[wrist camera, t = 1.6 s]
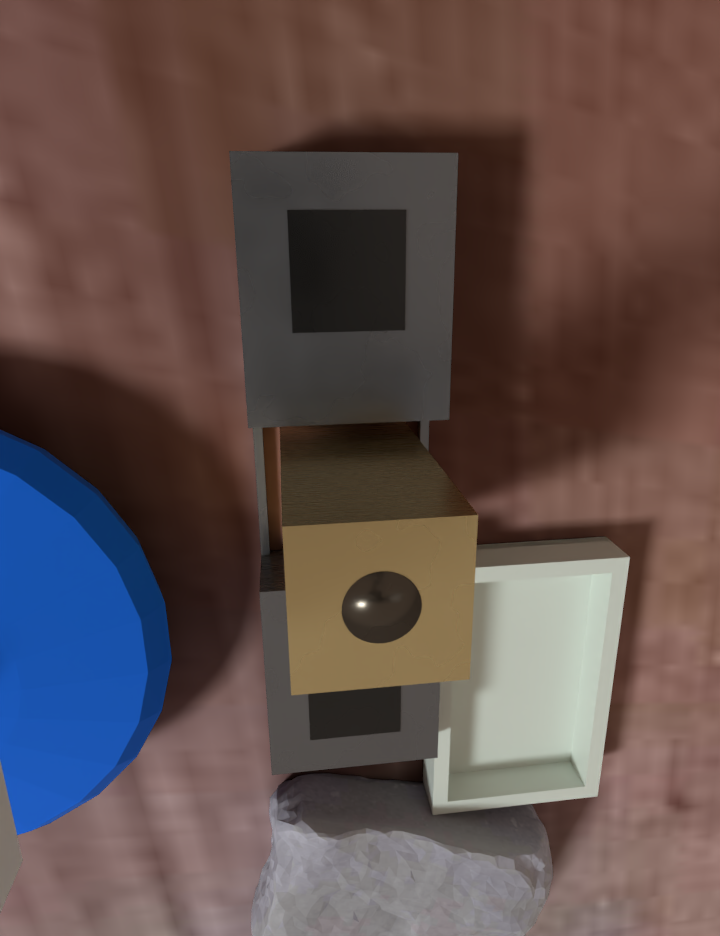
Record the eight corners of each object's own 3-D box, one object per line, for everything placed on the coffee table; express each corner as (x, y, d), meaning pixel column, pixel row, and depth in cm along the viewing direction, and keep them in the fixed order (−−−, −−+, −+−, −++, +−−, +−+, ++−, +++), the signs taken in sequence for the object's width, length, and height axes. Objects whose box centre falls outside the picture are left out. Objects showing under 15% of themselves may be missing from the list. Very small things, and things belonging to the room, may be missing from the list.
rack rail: (236, 167, 19) (229, 150, 16) (432, 167, 20) (459, 152, 17) (272, 717, 25) (272, 776, 23) (420, 703, 26) (438, 759, 23)
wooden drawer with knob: (279, 421, 22) (282, 527, 13) (401, 416, 22) (478, 515, 14) (285, 534, 23) (291, 695, 15) (400, 527, 24) (470, 680, 15)
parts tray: (428, 547, 24) (440, 570, 22) (606, 536, 25) (630, 556, 23) (422, 780, 27) (432, 815, 26) (578, 763, 28) (597, 796, 26)
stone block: (473, 898, 33) (545, 777, 28) (493, 1013, 29) (583, 893, 24) (243, 877, 31) (279, 744, 26) (229, 997, 27) (270, 863, 22)
